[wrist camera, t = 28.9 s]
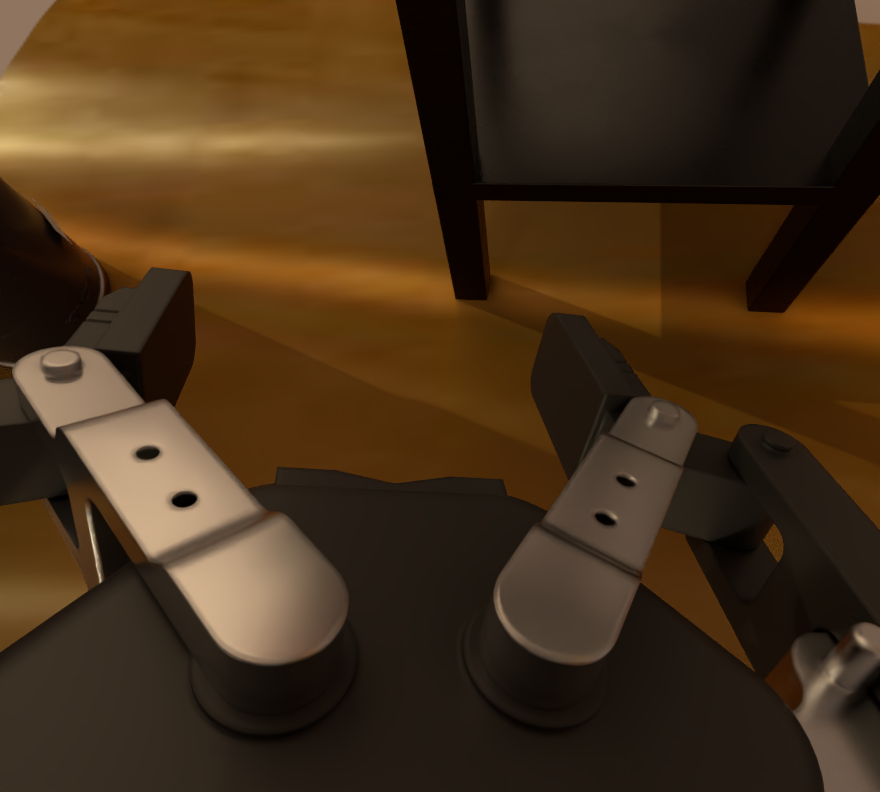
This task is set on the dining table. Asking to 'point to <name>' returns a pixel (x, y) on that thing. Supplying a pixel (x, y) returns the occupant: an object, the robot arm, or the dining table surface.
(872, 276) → the dining table surface
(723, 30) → the stand
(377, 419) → the dining table surface
